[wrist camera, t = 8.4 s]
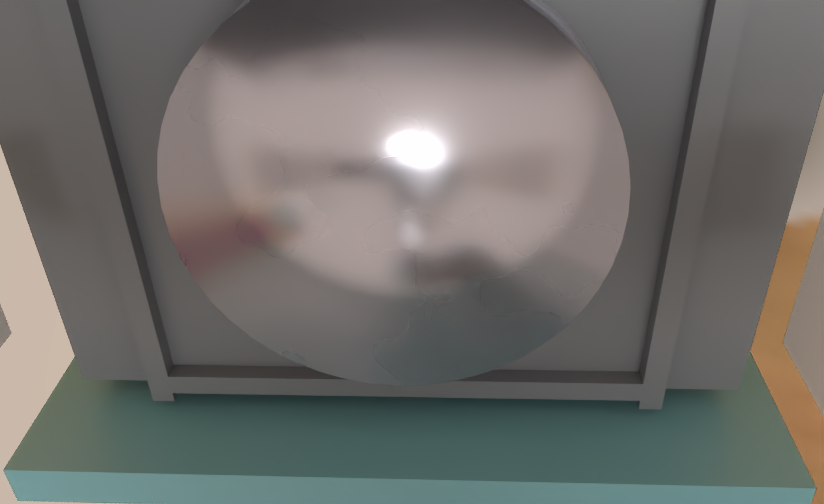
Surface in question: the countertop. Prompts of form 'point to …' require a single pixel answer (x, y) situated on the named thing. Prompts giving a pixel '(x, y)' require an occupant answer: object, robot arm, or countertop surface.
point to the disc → (395, 181)
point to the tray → (433, 403)
